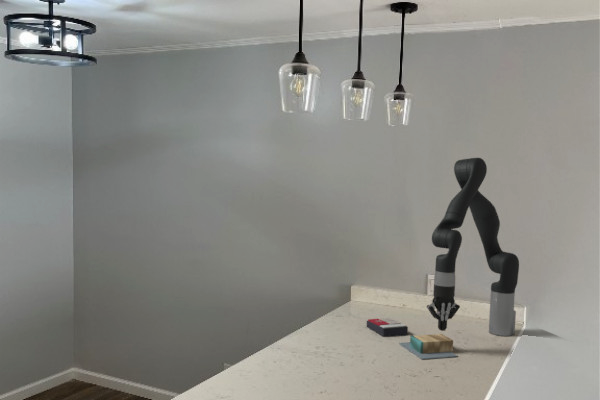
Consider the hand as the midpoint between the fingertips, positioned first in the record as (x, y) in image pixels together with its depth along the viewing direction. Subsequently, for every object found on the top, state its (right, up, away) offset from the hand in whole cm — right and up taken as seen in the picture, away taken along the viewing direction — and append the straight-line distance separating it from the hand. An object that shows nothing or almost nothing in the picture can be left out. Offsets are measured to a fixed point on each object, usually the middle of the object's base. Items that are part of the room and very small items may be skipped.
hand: (442, 330), depth 219 cm
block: (+2, -5, +1) cm, 5 cm away
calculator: (-17, -6, +23) cm, 29 cm away
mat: (-6, -7, -1) cm, 9 cm away
